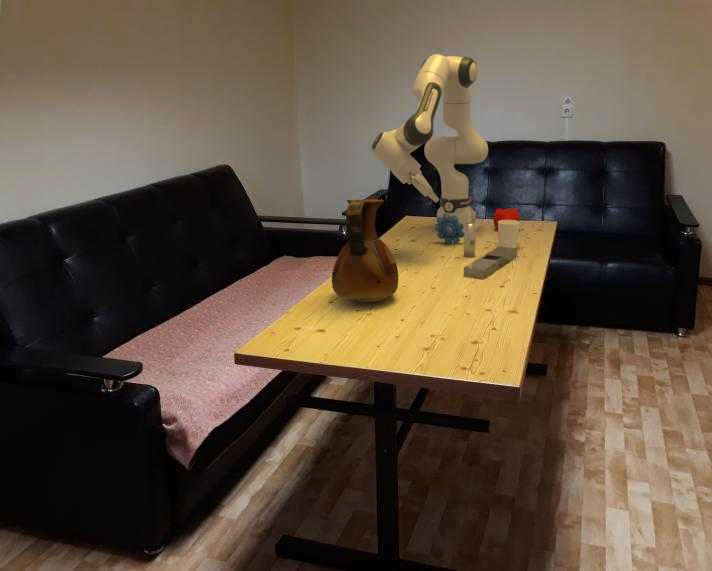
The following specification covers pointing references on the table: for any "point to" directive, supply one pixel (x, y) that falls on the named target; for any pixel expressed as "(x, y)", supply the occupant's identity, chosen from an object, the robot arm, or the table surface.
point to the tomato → (505, 215)
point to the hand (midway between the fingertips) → (436, 198)
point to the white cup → (508, 233)
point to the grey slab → (490, 262)
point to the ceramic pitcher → (364, 257)
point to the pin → (469, 239)
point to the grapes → (449, 228)
